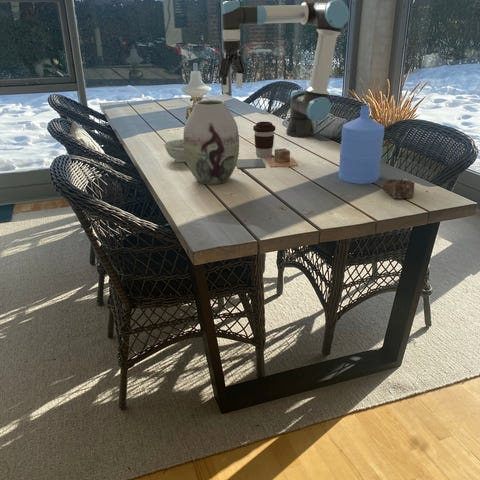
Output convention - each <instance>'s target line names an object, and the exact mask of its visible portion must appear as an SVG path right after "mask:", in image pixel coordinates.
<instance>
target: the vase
mask: <svg viewBox="0 0 480 480" xmlns="http://www.w3.org/2000/svg"><path fill="white" fill-rule="evenodd" d="M183 127H184V128H183V138H182V139H183V145H184V153H185V158H186V161H187V162H186V164H187V167H188V169H189V170H190V171H189V172H190V173H191V175H192V176H193V177H194V178H195V180H197V181H198V183H201V184H203V185H208V186H209V185H211V186H213V185H215V186H216V185H220V184H223V183H226V182H227V181H228V180H229V179H230V177H231V176H232V175H233V173H234V170H235V169H236V168H237V166H236V164H237V160H238V159H239V153H240V135H239V129H238V124H237V121H236V119H235V118H234V117H233V115H232V113H231V112H230V110H229V109H228V106H227V104H226V102H225V101H224V100H221V99H203V100H202V99H201V100H197V101H195V102H194V105H193V108H192V111H191V112H190V114H189V116H188V117H187V119H186V121H185V123H184V126H183Z"/></svg>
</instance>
